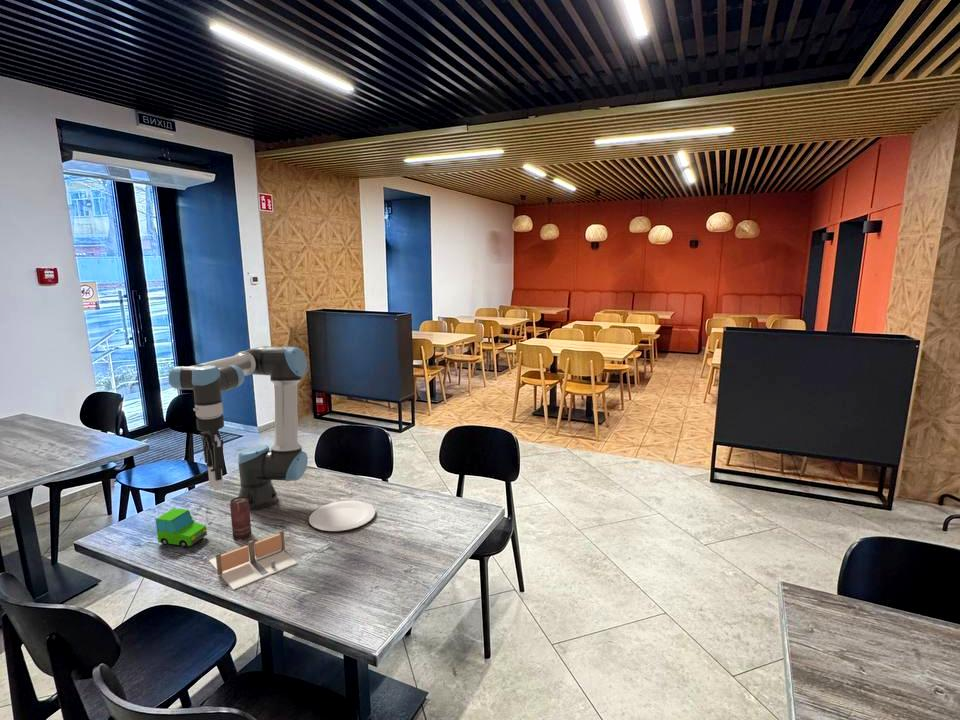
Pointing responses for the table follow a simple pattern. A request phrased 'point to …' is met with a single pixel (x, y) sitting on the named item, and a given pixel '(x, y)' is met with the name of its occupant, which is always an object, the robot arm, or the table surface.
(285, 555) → the card
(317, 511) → the plate
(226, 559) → the panel
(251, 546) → the fixed panel
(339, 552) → the table surface
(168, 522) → the toy car
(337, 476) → the table surface
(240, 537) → the can
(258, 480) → the robot arm
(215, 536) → the table surface
